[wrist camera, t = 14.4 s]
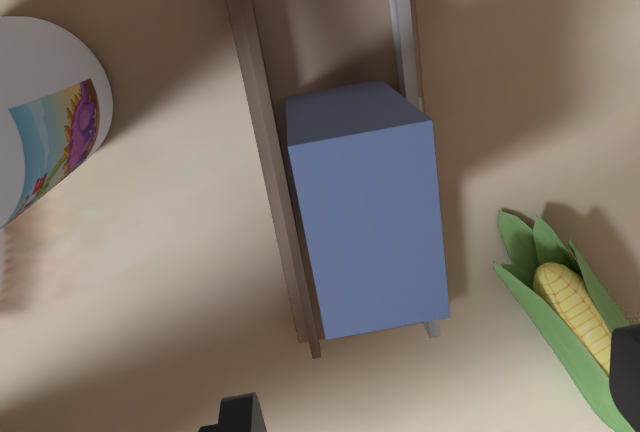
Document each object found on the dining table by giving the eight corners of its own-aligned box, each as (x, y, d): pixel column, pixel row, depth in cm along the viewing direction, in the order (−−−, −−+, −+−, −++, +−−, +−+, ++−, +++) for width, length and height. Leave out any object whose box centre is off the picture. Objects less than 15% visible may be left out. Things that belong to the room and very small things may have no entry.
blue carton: (312, 236, 31) (326, 340, 21) (285, 96, 28) (287, 146, 18) (402, 220, 31) (454, 316, 21) (385, 78, 28) (437, 119, 18)
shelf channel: (298, 333, 34) (300, 361, 32) (218, -47, 26) (211, -52, 23) (438, 308, 34) (451, 334, 32) (403, -80, 26) (416, -88, 23)
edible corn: (604, 425, 39) (643, 477, 35) (460, 233, 33) (486, 268, 28) (668, 388, 38) (716, 436, 34) (533, 181, 32) (572, 210, 27)
